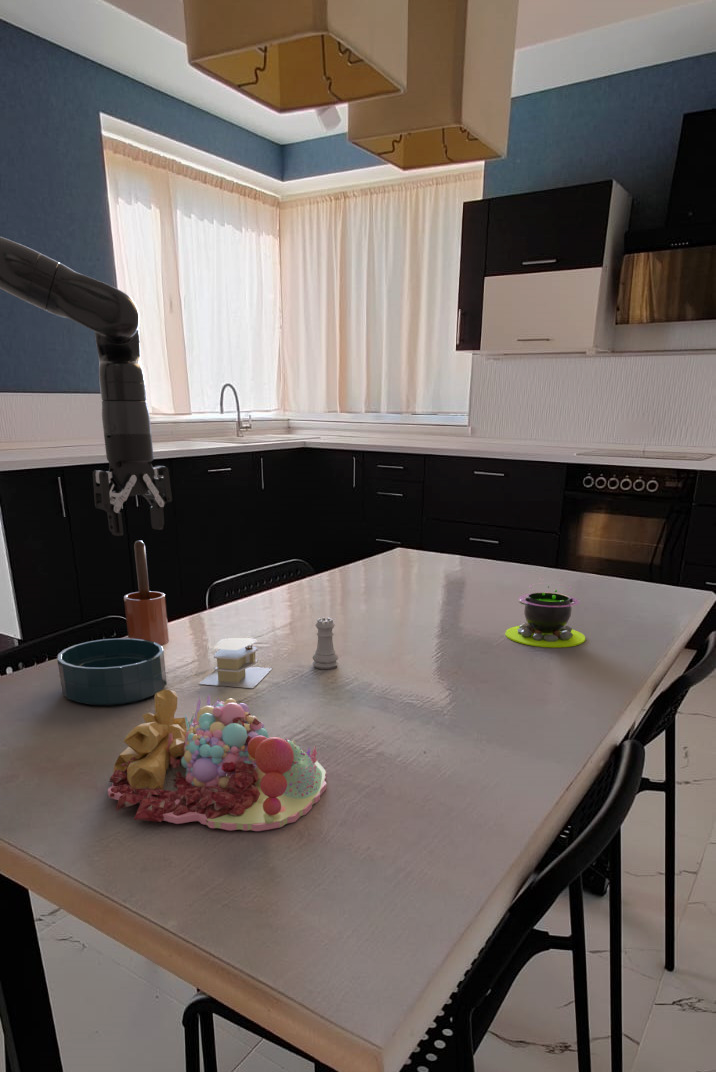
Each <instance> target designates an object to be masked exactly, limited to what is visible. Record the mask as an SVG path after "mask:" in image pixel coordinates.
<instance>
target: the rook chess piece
mask: <svg viewBox="0 0 716 1072" xmlns="http://www.w3.org/2000/svg"><path fill="white" fill-rule="evenodd" d="M316 621H317V622H316V623H315V625H314V626H315V627H316V629H317V633H316V635H317V644H316V649H315V651H314V654H313V655H312V663H311V664H312V666H313V667H314V668H316V669H318V670H332V669H335V668H337V666H338V665H339V661H338V660H339V656H338V654H337V653H336V650H335V648H334V641H333V636H334V633H333V629H334V627H336V625H335V623H334V619H333V618H331V617H327V620H326V617H322V618H321V617H318V618H317V619H316Z"/></svg>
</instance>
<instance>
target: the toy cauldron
mask: <svg viewBox="0 0 716 1072" xmlns="http://www.w3.org/2000/svg"><path fill="white" fill-rule="evenodd" d="M542 578H543V577H542V576H541V577H539V580H543V579H542ZM561 580H563V578H561V577H560V580H558V582H561ZM538 584H547V585H548V586H547V588H548V589H549V588H550V586H549V584H550V583H548V582H547V583H546V582H543V583H541V582H539V583H538ZM533 585H534V583H532V584H529V585H528V588H530V589H531V590H533V591H535V588H531V587H532V586H533ZM551 585H554V582H553V583H552V582H551ZM559 585H561V586H562V584H561V583H559ZM563 586H564V587H567V588H569V589H568V590H565V591H564V593H565V592H570V591H572V590H573V588H572V587H569V586H568V585H565V584H563ZM517 598H518V599H517V600H518V603H519V604H521V605H524V611H523V615H524V618H525V621H526V622H524V623H522V624H520V625H515V626H511V627H509V628H508V629H506V631H505V636H506V638H507V639H508V640H510V641H512V642H515V643H519V644H522V645H526V646H532V647H537V648H553V649H555V648H557V649H558V648H559V649H561V648H571V647H576V646H579V645H582V644H584V643H585V642H586V636H585V635H584V634H583V633H582V632H580V631H578V630H575V629H573V628H572V627H571V626H569V625H567V624H568V623H569V621H570V618H571V616H572V610H573V609H572V607H575V606H578V605H580V600H579V599H577V598H575V597H573V596H569V595H566V594H563V593H559V592H558V590H557V589H554V592H550V591H545V590H544V591H543V590H541V591H539V592H531V593H526V594H522V595H520V596H518V597H517Z"/></svg>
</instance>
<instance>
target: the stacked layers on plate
mask: <svg viewBox="0 0 716 1072" xmlns="http://www.w3.org/2000/svg"><path fill="white" fill-rule="evenodd" d="M257 641H258V640H257V639H255V638H253V637H228V638H222V639H221V638H220V639H219V640H218V642H217V643H216V644H215V645H214V646H213V650H217V651H216V653H215V654H214V655H213V658H214V659H216V665H215V668H214V670H213V671H212V672H211V673H210V674H209V675H207V676H206V677H205V678H204V679H203V680H202V681H200V682H199V683H198V685H208V686H219V687H233V688H245V689H254V688H255V687H257V685H258V684H259V683H260V682H261V681H262V680H263V678H265V677H266V676H267V675H268V674H269V673H270V672H271V671H272V670H273V668H271V667H262V666H261V667H259V666H255V665H257V664H258V662H259V660H258V659H256V652H257V651H258V647H256V646H253V644H256V642H257Z"/></svg>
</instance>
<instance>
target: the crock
mask: <svg viewBox="0 0 716 1072" xmlns="http://www.w3.org/2000/svg"><path fill="white" fill-rule="evenodd" d="M149 592H150V599H147V600H140V597H139V591H135V592H130V593H127V594H125V595H124V596H123V602H124V613H125V619H126V631H127V638H129V639H141V640H148V641H152V642H155V643H158V644H159V645H161V646H164V645H167V644H168V643H169V642H170V635H169V633H170V632H169V624H168V622H169V621H168V612H167V602H166V594H165V593H164V592H160V591H151V590H149Z"/></svg>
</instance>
